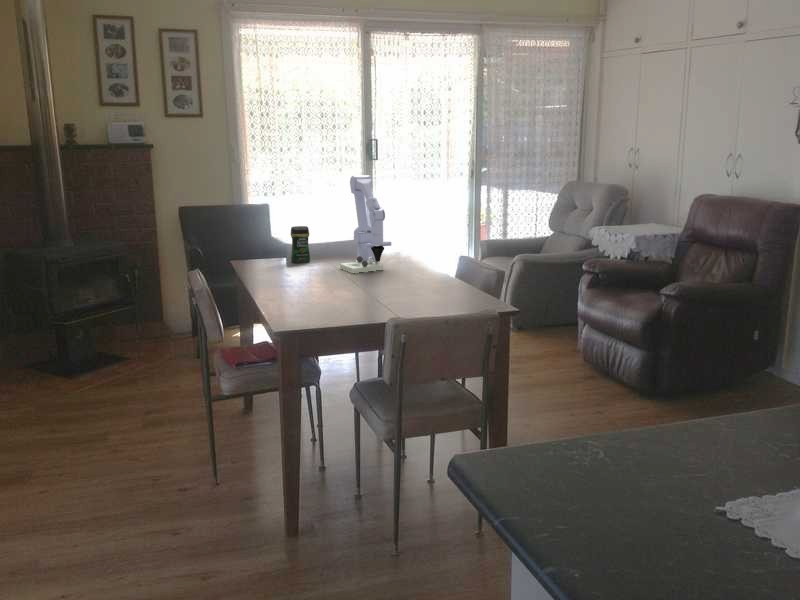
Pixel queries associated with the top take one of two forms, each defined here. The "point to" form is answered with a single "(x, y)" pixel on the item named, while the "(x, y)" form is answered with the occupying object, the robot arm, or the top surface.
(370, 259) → the steel ball
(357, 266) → the sage board
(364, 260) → the black rubber ball
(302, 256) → the coffee jar
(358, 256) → the black rubber ball
